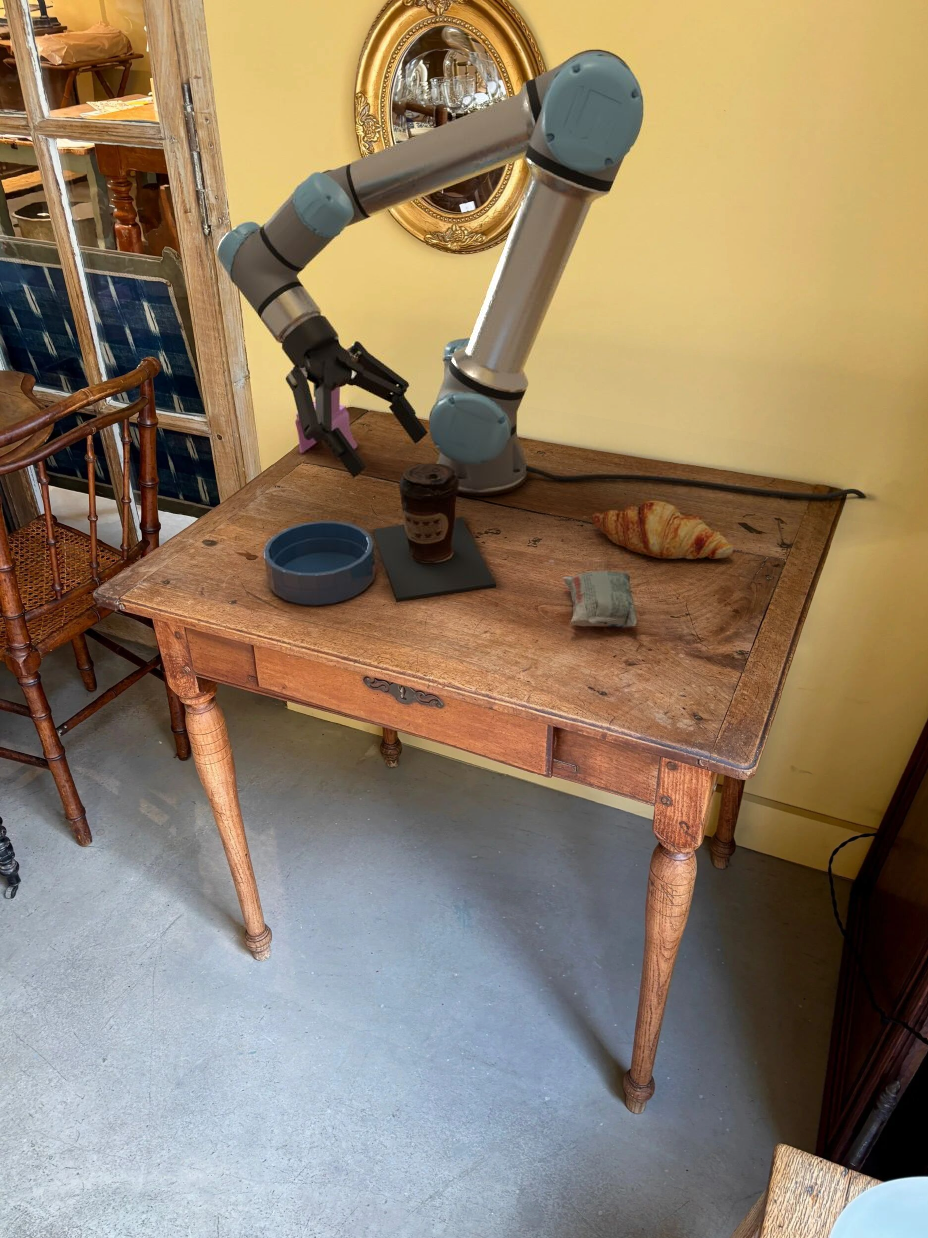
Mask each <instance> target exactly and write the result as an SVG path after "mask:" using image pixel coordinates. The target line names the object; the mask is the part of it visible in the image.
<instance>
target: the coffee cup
mask: <svg viewBox="0 0 928 1238" xmlns="http://www.w3.org/2000/svg"><path fill="white" fill-rule="evenodd" d="M436 463H437V462H435V463H434V462H433V463H422V464H419V465H416V466H412V467H408V468H406V469H405V470H404V472H403V476H402V477H401V478H400V480H399V483H398V489H399V495H400V503H401V509H402V518H403V525H404V526H405V532H406V536H407V540H408V545H409V554H410V556H411V557H412V558H413V559H414V560H416V561H419V562H423V563H436V562H442V561H445V560H447V559H450V558H451V557H452V555H453V548H452V546H451V543H452V542H451V540H452V535H453V529H454V525H455V518H457V517H456V516H457V514H456V512H457V511H456V510H457V509H456V507H457V494H458V493H457V492H458V488H459V479H458V477H457V476H456V475H454V472H455V470H453V469H452V468H451V467H449V466H447V465H443V464H436Z"/></svg>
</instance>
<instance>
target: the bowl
mask: <svg viewBox="0 0 928 1238" xmlns="http://www.w3.org/2000/svg"><path fill="white" fill-rule="evenodd" d="M374 545H375V544H374V541H373V538H372V535H371V534H369V532H367V531H366V530H365V529H364V528H362V527H360V526H357V525H355V524H352V523H349V522H342V521H336V520H316V521H309V522H303V523H300V524H296V525H292V526H289V527H288V528H286V529H283V530H281V531H280V532H277V533H276V534H275V535H273V537H271V538H270V539H269V540H268V541H267V542H266V544H265V546H264V548H263V557H264V564H265V571H266V576H267V582H268V583H267V584H268V587H269V589H270V590H271V591H272V592H273V593H274V595H276V596H277V597H279V598H281V599H283V600H285V601H287V602H290V603H294V604H297V605H303V606H325V605H333V604H338V603H342V602H345V601H348V600H350V599H352V598H355V597H357V596H358V595H359V594H361V593H362V592H364V591H365V590H366V589H367V588H368V587H369V586H370V585H371V584H372V583H373V581H374V579H375V577H376V573H377V570H376V568H377V567H376V557H375V546H374Z"/></svg>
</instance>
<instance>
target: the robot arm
mask: <svg viewBox="0 0 928 1238" xmlns="http://www.w3.org/2000/svg"><path fill="white" fill-rule="evenodd" d="M644 109H645V108H644V97H643V93H642V89H641V86H640V83H639V81H638V79H637V77H636V76H635V74H634V73H633V71H632V69H631V67H630V66H629V65H628V64H627V63H626V61H625V60H623V59H622V58H621V57H620V56H618V55H617V54H615V53H613V52H611V51H609V50H604V49H600V48H599V49H598V48H597V49H596V48H595V49H587V50H583V51H580V52H577V53H576V54H573V55H572V56H570V57H569V58H567V59H566V60H564V61H563V62H562V63H560V64H558V65H557V66H555V67H554V68H551V69H550V70H548V71H546V72H544V73H542V74H540V75H538V76H536V77H534V78H532V79H529V80H527V81H524V82H523V83H522V86H521V87H520V90H519V92H518V93H517V94H514V95H512V96H510V97H507V98H505V99H503V100H500V101H497V102H495V103H493V104H490V105H488V106H485V107H483V108H481V109H478V110H475V111H474V112H471V113H469V114H466V115H463V116H462V117H458V118H456V119H453V120H452V121H448V122H446V123H444V124H442V125H440V126H437V127H435V128H433V129H430V130H427V131H425V132H422V133H419V134H417V135H415V136H412V137H410V138H408V139H405V140H403V141H400V142H398V143H396V144H393V145H391V146H388V147H385V148H384V149H381V150H378V151H376V152H374V153H370V154H368V155H367V156H364V157H361V158H359V159H357V160H354V161H352V162H351V163H349V164H345V165H342V166H340V167H337V168H334V169H327V170H324V171H322V172H321V171H315V172H312V173H311V174H310V175H309V176H308V177H307V178H306V179H305V180H304V181H302V182H301V183H300V184H298V185H297V186H296V188H295V189H294V190H293V192H292V193H291V194H290V195H289V196H288V198H287V199H286V200H285V201H284V202H283V203H282V204H281V205H280V207H279V208H278V209H276V211H275V212H274V213H273V214H272V215H271V217H270V218H269V219H268V220H267V221H266V222H265V223H264V224H263V225H262V226H261V225H260V224H259V223H257V222H255V221H246V222H243V223H240V224H238V225H236V226H234V228H233V229H232V230H231V231H228V232H227V233H226V234H225V235H224V236H223V237H222V238H221V240H220V242H219V243H218V246H217V249H216V253H217V259H218V260H219V262H220V264H221V265H222V267H223V269H224V270H225V272H226V273H227V275H228V276H229V279H230V281H231V282H232V283H233V285H234V286H236V288H237V289H238V290H239V292H240V293H241V294H242V295H243V297H244V298H245V300H246V301H247V303H249V305H250V307H252V309H253V310H254V312H255V313H256V314H257V316H258V317H259V319H260V321H261V322H262V323H263V324H264V326H265V327H266V329H267V330H268V331H269V333H270V334H271V336H272V337H273V338H274V340H275V341H276V343H278V344H281V349H282V351H283V353H284V354H285V355H286V357H287V358H288V359H289V361H290V362H291V363H292V365H293V367H292V368H291V370H290V371H289V372H288V373H287V375H286V376H285V381H286V383H287V385H288V386H289V389H290V390H291V391H292V395H293V399H294V403H295V407H296V410H297V413H298V415H299V419H300V423H301V427H302V431H303V435H304V438H305V439H307V440H311V439H312V438H314V440H315V441H316V443H321V442H322V443H323V444H324V445H325V446H326V448H327V449H328V451H329V452H330V454H331V455H332V456H333V457H334V458H335V459H336V458H338V460H339V459H340V460H339V461H340V462H341V464H342V465H343V466H344V468H345V470H347V471H348V473H349V474H350V476H351V477H352V478H353V479H355V478H357V477H358V476H359V475H360V474H361V473H362V472H363V471H364V470H366V468H367V464H365V462H364V461H363V459H362V458H361V456H360V455H359V454H358V452H357V451H356V450H355V449H353V447H352V446H351V444H350V443H349V442H348V440H347V439H346V438H345V436H344V435H343V433H342V432H341V431H340V429H339V428H338V427H337V428H335V429H334V430H333V431H332V430H331V429H332V409H331V392H332V391H334V390H335V389H336V388H337V387H340V388H342V387H345V386H346V385H348V386H352V387H353V386H356V387H358V388H359V389H362V390H364V391H365V392H368V393H370V394H372V395H374V396H376V397H378V398H380V399H382V400H384V401H386V402H388V403H390V405H389V406H388V409H389V410H390V411H391V413H392V414H393V415H394V417H395V418H396V419H397V421H398V423H399V424H400V425H401V426H402V428H403V429H404V430H405V432H406V433H407V435H408V436H409V438H410V439H411V440H412V442H413V443H414V444H415V445H416V444H417V443H419V442H420V441H421V440H422V439H423V438H424V437H425V436H427V435H428V433H429V435H430V438H431V441H432V442H433V444H434V446H435V448H436V449H437V450H438V451H439V452H440V453H439V456H438V460H437V462H435V463H436V464H443V465H447V466H449V467H451V468H452V469H453V470H455V472H454V475H456V476H457V477H458V479H459V488H458V492H457V494H459V495H464V496H468V497H492V496H499V495H505V494H506V493H510V492H512V491H515V490H517V489H518V488H520V487H521V486H522V485H524V484H525V482H526V481H527V479H528V473H533V474H535V475H539V476H542V477H545V478H547V479H550V480H554V481H561V482H562V481H563V482H573V481H574V482H575V481H586V480H634V481H635V480H636V481H651V482H654V481H655V482H663V483H664V482H665V483H674V484H681V485H689V486H690V485H691V486H699V487H706V488H713V489H719V490H720V489H721V490H728V491H735V492H743V493H748V494H749V493H751V494H757V495H764V496H774V497H783V498H794V499H795V498H796V499H808V500H809V499H810V500H829V499H835V498H840V497H841V496H846V495H856V496H857V497H859V498H860V499H867V496H866V494H865V493H864V492H862V491H861V490H859V489H856V488H847V489H842V490H839V491H834V492H831V493H806V492H805V493H803V492H794V491H783V490H773V489H763V488H755V487H748V486H740V485H734V484H724V483H717V482H711V481H704V480H697V479H689V478H680V477H679V478H678V477H670V476H659V475H645V474H625V473H622V474H619V473H618V474H617V473H595V474H593V473H592V474H582V475H581V474H580V475H558V474H553V473H550V472H547V471H544V470H542V469H539V468H535V467H532V466H528V465H527V460H526V457H525V454H524V452H523V449H522V445H521V442H520V439H519V436H518V425H517V424H518V410H519V408H520V406H521V403H522V401H523V399H524V396H525V394H526V392H527V389H528V386H529V379H528V378H527V375H526V373H525V370H524V369H525V366H526V364H527V361H528V360H529V358H530V357H529V356H530V354H531V352H532V349H533V347H534V344H535V343H536V340H537V337H538V334H539V332H540V329H541V327H542V325H543V323H544V320H545V318H546V316H547V313H548V310H549V309H550V306H551V303H552V301H553V298H554V296H555V295H556V291H557V289H558V286H559V284H560V281H561V279H562V277H563V274H564V272H565V270H566V267H567V266H568V265H567V264H568V262H569V260H570V257H571V255H572V252H573V250H574V248H575V245H576V243H577V240H578V238H579V236H580V233H581V231H582V228H583V226H584V223H585V221H586V218H587V216H588V214H589V211H590V209H591V207H592V204H593V203H594V202H595V201H596V200H598V199H600V198H603V197H604V196H607V195H609V194H610V191H611V189H612V187H613V184H614V182H615V180H616V179H617V178H616V177H617V175H618V173H619V171H620V168H621V166H622V164H623V161H624V159H625V157H626V155H627V154H628V153H629V152H630V151H631V148H633V146H634V145H635V143H636V142H637V140H638V137H639V135H640V132H641V129H642V125H643V120H644ZM522 159H524V160H525V162H526V165H527V168H528V171H529V178H528V181H527V183H526V186H525V189H524V191H523V194H522V197H521V199H520V202H519V205H518V208H517V210H516V213H515V215H514V218H513V221H512V224H511V227H510V230H509V232H508V235H507V238H506V240H505V243H504V246H503V249H502V251H501V254H500V257H499V259H498V262H497V265H496V267H495V270H494V273H493V275H492V278H491V280H490V283H489V286H488V289H487V291H486V294H485V296H484V300H483V303H482V305H481V309H480V310H479V314H478V316H477V319H476V322H475V324H474V326H473V329H472V332H471V335H470V337H465V338H459V339H454V340H451V341H449V342H447V343H446V345H444V348H443V356H442V362H443V365H444V366H443V379H442V383H441V385H440V388H439V391H438V393H437V396H436V399H435V402H434V404H433V406H432V407H431V410H430V412H429V415H428V424H429V425H428V426H429V428H428V429H429V432H428V430H427V429H426V428H425V426H424V425H423V424H422V422H421V421H420V419H419V418H418V417H417V415H416V414H417V413H416V410H415V409H414V407H413V406H412V405H411V403H410V402H409V400H408V399H407V397H406V396H405V393H407V391H408V388H409V387H410V384H409V382H408V381H407V380H406V379H404V378H403V377H402V376H400V375H399V374H398V373H397V372H395V371H394V370H393V369H391V368H390V367H389V366H387V365H386V364H384V363H383V362H382V361H381V360H379V359H378V358H377V357H375V356H374V355H372V354H371V353H369V351H368V350H367V349H366V348H365V347H364V346H363V344H362V343H361V342H360V341H358V340H356V341H354V342H353V344H351V346H349V348H347V349H346V348H344V347H343V346H342V345H341V344H340V340H339V334H338V332H337V331H336V329H335V328H334V326H333V325H332V324H331V322H330V321H329V320H328V318H327V317H326V316H325V315H322V310H321V308H320V306H319V305H318V304H317V302H316V301H315V300H314V298H313V296H311V294H310V293H309V292H308V290H307V289H306V288H305V286H304V285H303V284H302V282H301V281H300V279H299V278H298V277H299V276H298V275H299V274H300V273H301V272H302V271H303V270H304V269H305V268H306V267H307V265H309V264H310V263H311V262H312V261H313V260H314V259H315V258H316V257H317V256H318V255H319V254H320V253H321V252H322V251H323V250H324V249H325V248H326V247H327V246H329V244H330V243H331V242H332V241H333V240H334V239H335V238H336V237H338V236H340V235H341V233H342V231H344V230H345V228H347V227H349V226H352V225H355V224H357V223H360V222H362V221H365V220H368V219H369V218H371V217H374V216H376V215H379V214H381V213H384V212H387V211H389V210H391V209H394V208H397V207H400V206H402V205H405V204H407V203H411V202H412V201H415V200H417V199H420V198H423V197H425V196H428V195H431V194H433V193H436V192H440V191H441V190H444V189H446V188H449V187H451V186H454V185H456V184H459V183H462V182H464V181H467V180H471V179H472V178H475V177H477V176H480V175H483V174H485V173H488V172H491V171H493V170H496V169H499V168H501V167H504V166H506V165H509V164H511V163H514V162H517V161H519V160H522ZM309 382H310V383H312V384H313V396H312V392H311V388H310V384H309ZM313 398H315V399H314V400H313ZM313 402H315V407H314V403H313Z"/></svg>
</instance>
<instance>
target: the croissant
mask: <svg viewBox="0 0 928 1238" xmlns="http://www.w3.org/2000/svg"><path fill="white" fill-rule="evenodd" d="M591 522H592V525H593V527H594V528H596V529H597V530H599V531H600V532H601V533H602V534H604V535H606V537H607V538H608V539H609V540H610V541H611V542H612V543H614V544H616V546H617V545H618V546H621V547H624V548H626V550H629V551H631V552H634V553H637V554H639V555H646V556H650V557H653V558H657V559H668V560H669V559H670V560H671V559H674V560H675V559H686V560H696V559H704V558H708V559H712V560H715V559H716V560H717V559H725V558H728V557H730V556H732V554H733V553H734V552H733V551H734V547H733V545H732V544H731V543H729V541H727V539H726V538H725V537H724V536H723V535H722V533H720V532H719V531H713V530H711V528H710V527H709V526H708V525H707V524H706V523H705V522H704V521H703V520H702V519H701V517H700V516H691V515H690V516H686V515H683V514H681V513H680V511H679V509H678V507H676V506H674V505H673V504H670V503H669V502H664V501H660V500H655V499H654V500H649V499H648V500H645V501H644V502H643V503H642V504H641V505H640V506H639V507H638V506H634V505H628V506H626V507H625V508H624V509H623V510H620V511H618V510H616V509H610V510H605V511H604V512H602V513H600V512H594V513H592V516H591Z"/></svg>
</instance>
